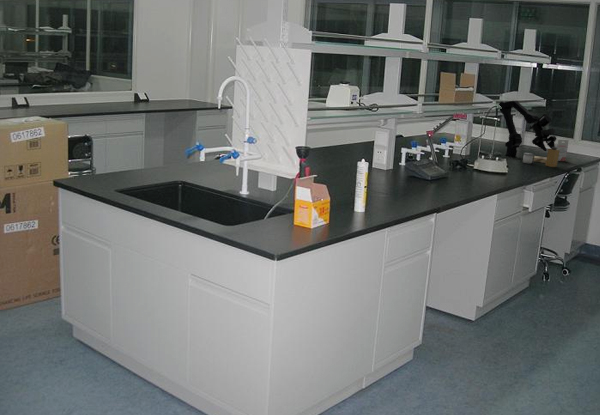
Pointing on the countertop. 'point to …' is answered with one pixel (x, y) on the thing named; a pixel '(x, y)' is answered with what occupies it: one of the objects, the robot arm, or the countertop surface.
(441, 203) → the countertop surface
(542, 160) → the beech block
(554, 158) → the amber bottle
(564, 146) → the ink cartridge box
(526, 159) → the white jar
